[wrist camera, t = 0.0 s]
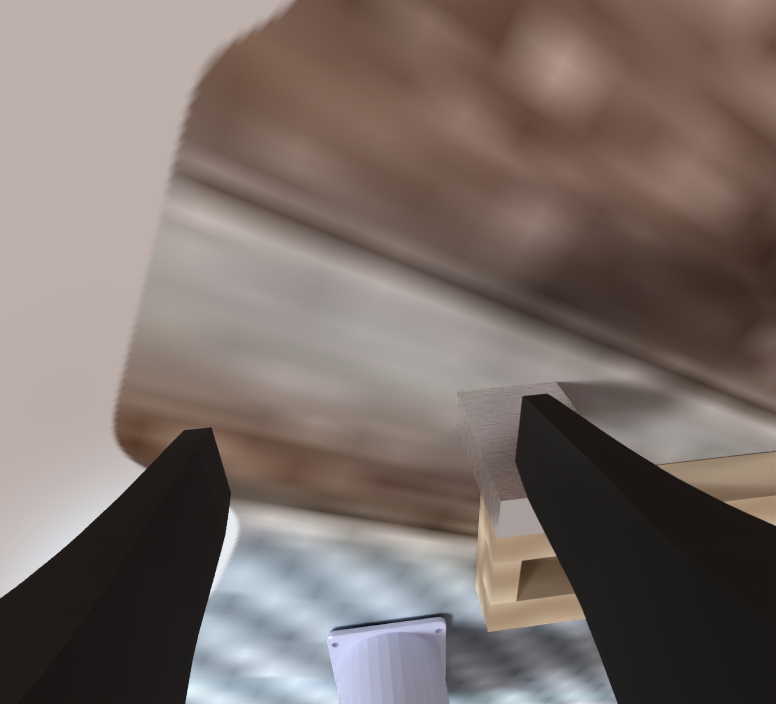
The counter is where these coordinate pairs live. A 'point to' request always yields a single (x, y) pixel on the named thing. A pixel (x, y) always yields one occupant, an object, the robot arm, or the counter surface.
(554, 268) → the counter surface
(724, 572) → the robot arm
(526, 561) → the slotted wooden frame
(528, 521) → the steel bracket tab
